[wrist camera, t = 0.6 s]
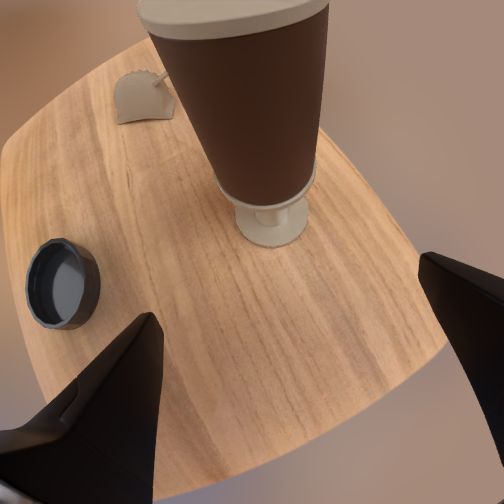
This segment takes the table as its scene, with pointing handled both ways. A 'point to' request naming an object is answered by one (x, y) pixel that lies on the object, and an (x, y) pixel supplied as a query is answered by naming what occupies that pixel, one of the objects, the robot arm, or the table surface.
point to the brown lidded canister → (247, 86)
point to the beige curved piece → (143, 97)
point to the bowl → (62, 285)
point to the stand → (272, 218)
